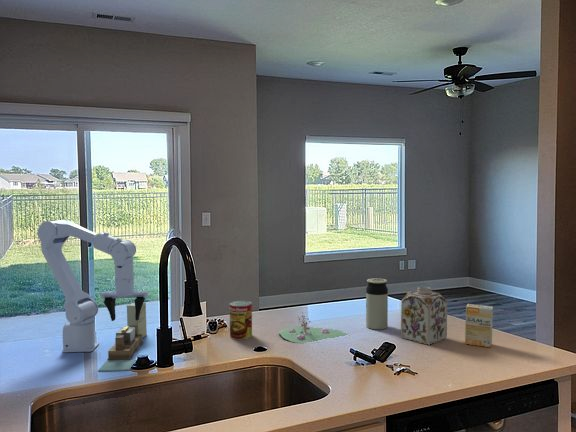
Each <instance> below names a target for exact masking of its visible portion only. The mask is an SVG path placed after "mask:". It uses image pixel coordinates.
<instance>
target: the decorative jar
mask: <svg viewBox="0 0 576 432" xmlns="http://www.w3.org/2000/svg"><path fill="white" fill-rule="evenodd" d="M447 335H448V301H447V299H445V297H444V296H443V295H441V293H440V292H437V291H432V288H431V287H428V286H418V287H417V288H416V290H412V291H408V292H407V293H406V294H405V295H404V296H403V298H402V299H401V310H400V337H401V339H404V338H405V339H404V340H407V339H409V340H408V341H411V340H413V341H412V342H415V341H417V342H416V343H418V342H421V343H420V344H422V343H424V344H423V345H425V344H428V345H427V346H431V345H433V344H432V343H434V344H436V343H439V342H441V341H444V340H447V337H448V336H447ZM443 339H444V340H443ZM438 341H439V342H438ZM435 342H436V343H435ZM430 344H431V345H430Z"/></svg>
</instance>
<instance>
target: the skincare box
mask: <svg viewBox="0 0 576 432" xmlns="http://www.w3.org/2000/svg"><path fill="white" fill-rule="evenodd" d="M146 305H147V304H146V302H145V301H144V303H143V305H142V308H141V311H140V316H139V320H136V319H135V313H136V310H135V302H132V303H129V304H126V326H137V334H142V339H143V338H144V337H147V332H148V331H147V306H146Z"/></svg>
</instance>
